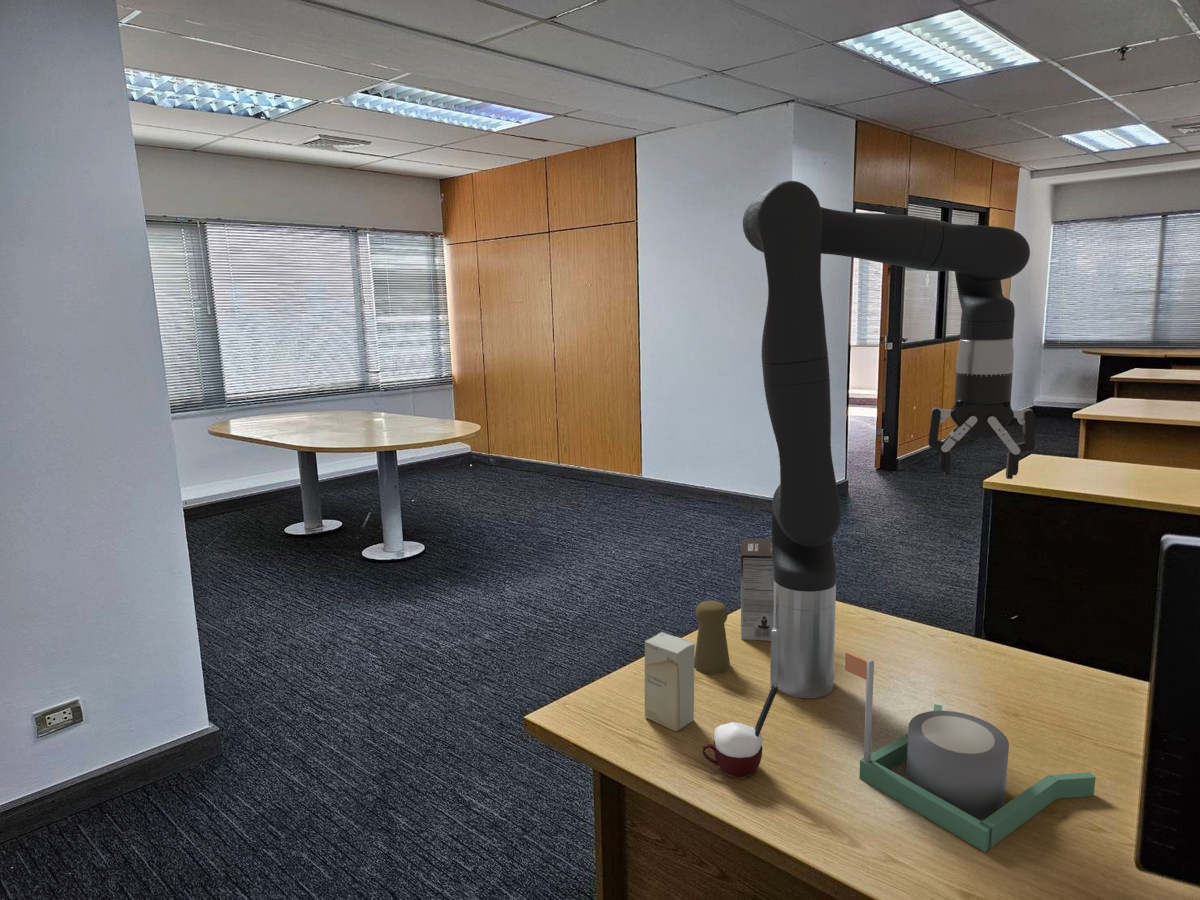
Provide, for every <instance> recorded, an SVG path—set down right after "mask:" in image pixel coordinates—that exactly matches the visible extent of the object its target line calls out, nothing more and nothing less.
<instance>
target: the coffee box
mask: <svg viewBox="0 0 1200 900" xmlns="http://www.w3.org/2000/svg"><path fill="white" fill-rule="evenodd" d="M740 552H741V553H740V632H741V633H740V635H741V638H740V639H741V640H747V641H749V640H750V641H767V642H768V641H769V642H771V630H772V628H773V616H774V567H773V558H772V539H742V541H741V550H740Z"/></svg>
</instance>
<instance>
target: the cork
mask: <svg viewBox="0 0 1200 900" xmlns="http://www.w3.org/2000/svg"><path fill="white" fill-rule="evenodd" d="M725 605H726V604H724V603H722V602H720V601H719V600H718V601H717V600H704V601H702V602H700V603H699V604H698V605H697V606H696V609H695V617H696V620H697V622H698V629H697V636H696V644H695V655H694V670H696V671H698V672H700V673H703V674H706V675H720V674H724V673H726V672H728V671H729V670H730V669H731V663H730V654H729V649H728V647H729V646H728V640H727V635H726V626H725V624H726V622H727V620H728V613H729V612H728V609H727V607H726V606H725Z"/></svg>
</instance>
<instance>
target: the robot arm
mask: <svg viewBox="0 0 1200 900" xmlns="http://www.w3.org/2000/svg"><path fill="white" fill-rule="evenodd" d="M742 230H743V233H744V236H745V238H746V240H747V242H748V243H749V244H750V245H751V246H752V247H753V248H755V249H756V250H757V251H759V252H761V253H763V256H764V257H763V258H764V262H765V269H766V276H767V285H768V286H767V287H768V288H767V289H768V291H767V292H768V293H767V306H766V312H765V318H764V324H763V330H762V338H761V339H762V340H761V367H762V377H763V387H764V394H765V401H766V405H767V411H768V415H769V419H770V423H771V427H772V430H773V434H774V437H775V440H776V441H775V442H776V445H777V450H778V458H779V470H780V471H779V473H780V474H779V477H780V478H779V479H780V480H779V481H780V483H779V485H777V488H776V489H775V491H774V494H773V497H772V502H771V540H772V558H773V567H774V616H773V628H772V630H771V641H770V680H769V681H770V683H769V684H770V686H769V687H770V689H771V687H772V685H773V683H774V682H776V683H777V686H778V690H777V691H779V692H781V693H783V694H785V695H788V696H790V697H795V698H800V699H816V698H822V697H825V696H827V695H829V694H830V693H831V692H832V691H833V689H834V680H835V672H834V671H835V636H836V634H835V633H836V604H837V603H836V597H837V596H836V595H837V594H836V593H837V566H836V559H835V554H834V545H833V544H834V543H833V542H834V541H833V539H834V536H835V535H836V533H837V532H838V530H839V528H840V524H841V521H842V513H843V512H842V510H843V509H842V505H841V500H840V496H839V491H838V486H837V485H838V484H837V480H836V475H835V470H834V469H835V468H834V464H833V463H834V462H833V455H832V444H831V443H832V440H831V438H832V437H831V435H832V433H831V432H832V428H831V427H832V410H831V407H832V406H831V405H832V403H831V378H830V364H829V363H830V362H829V351H828V345H827V344H828V343H827V336H826V334H827V333H826V324H825V323H826V321H825V312H824V302H823V294H822V293H823V291H822V280H821V279H822V276H821V274H822V271H821V269H822V268H821V267H822V255H831V256H841V257H849V258H854V259H858V260H866V261H870V262H875V263H879V264H880V263H881V264H886V265H891V266H897V267H901V268H902V267H903V268H907V269H914V270H921V271H929V272H954V275H955V276H954V277H955V284H956V289H957V295H958V300H959V304H960V309H961V316H960V330H959V332H960V333H959V344H958V347H957V354H956V362H955V368H956V369H955V370H956V373H955V384H954V385H955V387H954V389H955V390H954V403H953V406H952V408H950V409H946V408H939V407H938V406H934V407H932V409H931V413H930V421H929V429H928V430H929V431H928V440H927V442H928V446H929V447H930V448H934V449H936V450H938V451H939V452H940V453H939V470H940V472H941V473H943V475H944V476H945V477H950V475H951V474H950V473H951V457H952V455H951V454H952V452H951V449H952V448H953V447H954V446H955V444H956V443H958V442H959V441H961V439H962V438H963V437H964V436H966V437H968V438H969V439H977V438H980V437H981V438H984V439H993V438H996V437H997V436H998V437H999V438H1000V440H1001V441H1002V443H1003V444H1004V445H1005V446H1006V447H1007V448H1008V451H1007V454H1006V468H1005V478H1006V479H1007V480H1013V478H1014V476H1017V475H1018V473H1019V466H1020V465H1019V462H1020V455H1021V454H1023V453H1026V452H1032V451H1034V450H1035V448H1036V446H1035V444H1036V443H1035V442H1036V441H1035V440H1036V439H1035V438H1036V437H1035V436H1036V435H1035V432H1036V431H1035V430H1036V429H1035V428H1036V425H1035V424H1036V423H1035V421H1036V420H1035V419H1036V418H1035V417H1036V416H1035V415H1036V414H1035V412H1034V411H1033V409H1031V408H1025V409H1020V410H1016V409H1015V410H1013V409H1012V405H1011V404H1012V388H1013V374H1014V361H1015V359H1014V357H1015V355H1014V354H1015V351H1014V330H1015V329H1014V328H1015V316H1016V315H1015V311H1016V310H1015V304H1014V303H1013V301H1012V300H1011V299H1008V298H1007V297H1006V296H1004V294H1003V288H1002V281H1003V280H1007V279H1011V278H1013V277H1015V276H1016V275H1018V274H1020V272H1022V271H1023V270H1024V269H1025V267H1026V266H1027V264H1028V263H1029V260H1030V255H1031V249H1030V244H1029V242H1028V241H1027V239H1026V237H1024V235H1022V234H1021V233H1019V231H1016V230H1014V229H1011V228H1008V227H1007V228H1006V227H1002V226H994V225H978V224H977V225H976V224H959V223H958V224H957V223H952V222H947V221H944V220H943V221H942V220H939V219H933V218H929V217H928V218H927V217H922V216H915V215H907V214H899V213H897V214H895V213H879V212H878V213H876V212H875V213H872V212H871V213H869V212H857V211H856V212H855V211H844V210H836V209H831V208H827V207H822V206H821V204H820V201H819V199H818V197H817V195H816V194H815V192H814V191H813V190H812V189H811V188H810V187H809V186H808V185H806V184H804V183H802V182H800V181H797V180H796V181H795V180H786V181H783V182H779V183H776V184H774V185H773V186H770V187H769V188H768V189H766V190H763V191H762V192H760V193H759V194H758V195H756V196H755V197H754V198H753V199H752V200H751V202H750V203H749V204H748V205H747V207H746V209H745V210H744V213H743V217H742ZM948 417H950V418H951V419H952V421H953V422H954V423H955V425H956V426H955V427H954V428H952V430H951V431H950V432H949V434H948V435H947V436H946V438H944V440H941V439H939V432H940V425H941V424H943V423H944V422H946V420H947V418H948ZM1014 418H1015V419H1017V422H1018V424H1019V425H1022V441H1021V442H1017V443H1016V442H1015V441H1014V439H1013V438H1012V436H1011V435H1010V434H1009V433H1008V431H1007V430H1006V429H1005V428H1006V427H1007V426H1008V425H1009V424H1010V422H1012V420H1013V419H1014Z"/></svg>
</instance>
